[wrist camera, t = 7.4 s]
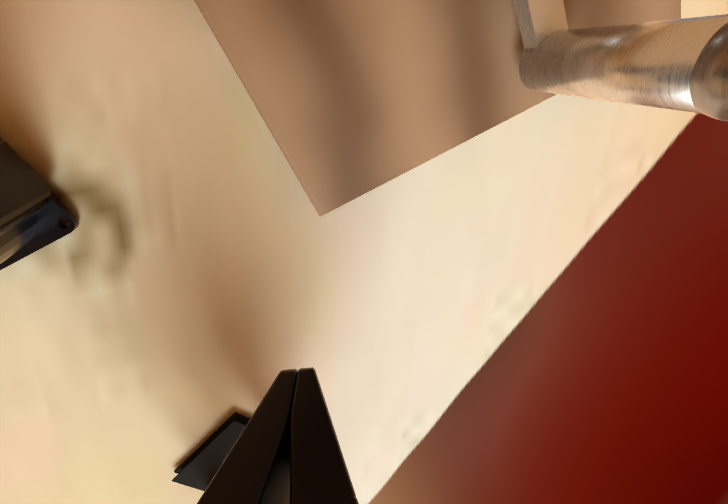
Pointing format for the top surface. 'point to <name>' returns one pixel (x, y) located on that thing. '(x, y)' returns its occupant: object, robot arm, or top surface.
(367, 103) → the stand
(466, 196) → the top surface
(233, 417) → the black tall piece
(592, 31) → the metal post and dome
